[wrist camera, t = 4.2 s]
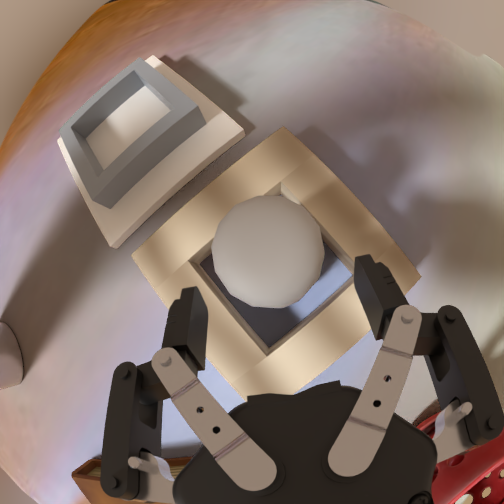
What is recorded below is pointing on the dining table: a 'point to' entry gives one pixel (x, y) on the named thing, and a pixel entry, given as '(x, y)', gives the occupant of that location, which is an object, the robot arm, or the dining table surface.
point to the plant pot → (468, 471)
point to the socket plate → (142, 144)
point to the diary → (91, 487)
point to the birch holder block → (333, 234)
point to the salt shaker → (268, 251)
